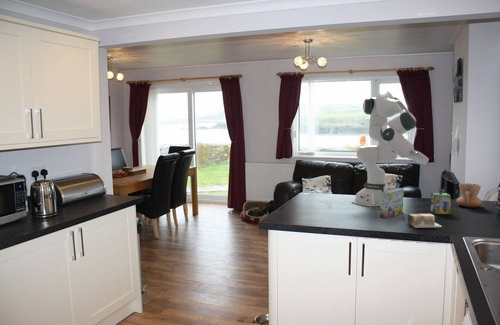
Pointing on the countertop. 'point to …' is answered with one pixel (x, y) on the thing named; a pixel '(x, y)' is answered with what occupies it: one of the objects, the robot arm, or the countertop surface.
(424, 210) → the countertop surface
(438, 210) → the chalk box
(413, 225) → the mat
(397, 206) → the snack box
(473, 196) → the ceramic jug
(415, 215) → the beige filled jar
